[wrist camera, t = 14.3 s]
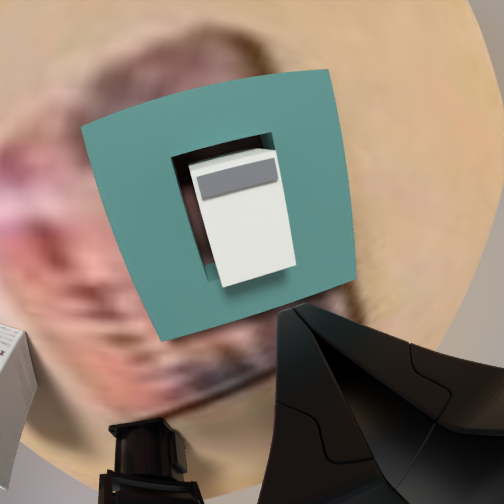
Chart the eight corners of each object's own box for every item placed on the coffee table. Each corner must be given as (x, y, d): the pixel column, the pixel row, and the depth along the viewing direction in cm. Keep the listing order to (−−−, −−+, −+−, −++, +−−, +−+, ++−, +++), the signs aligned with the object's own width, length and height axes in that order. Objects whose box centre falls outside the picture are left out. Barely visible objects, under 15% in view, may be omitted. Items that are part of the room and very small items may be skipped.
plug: (212, 252, 19) (223, 289, 15) (188, 163, 17) (190, 171, 12) (269, 235, 20) (297, 266, 15) (251, 147, 17) (277, 150, 13)
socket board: (162, 320, 20) (161, 341, 18) (94, 128, 14) (81, 126, 12) (340, 264, 22) (356, 278, 20) (310, 76, 16) (328, 69, 14)
